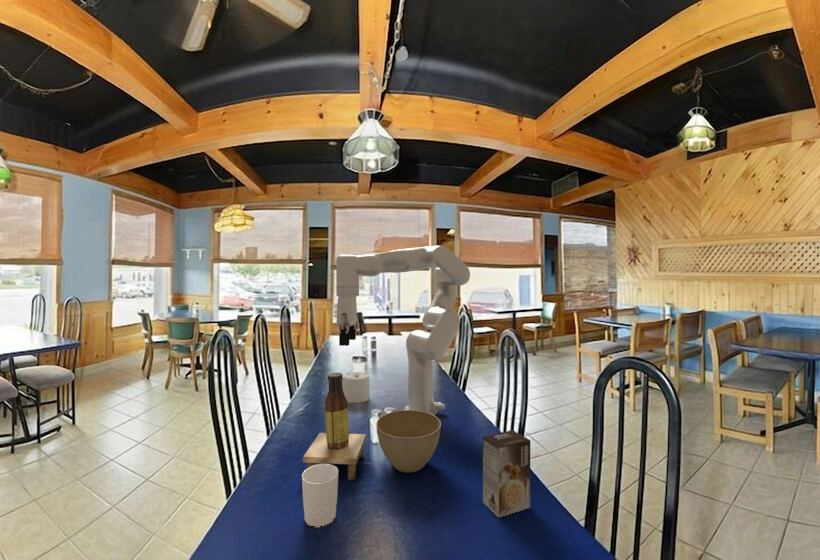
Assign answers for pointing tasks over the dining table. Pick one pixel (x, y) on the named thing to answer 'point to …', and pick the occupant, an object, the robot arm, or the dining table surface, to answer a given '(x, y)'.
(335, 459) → the footstool
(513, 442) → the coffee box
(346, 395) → the toilet tissue
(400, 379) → the dining table surface
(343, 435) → the sauce bottle
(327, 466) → the white cup
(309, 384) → the dining table surface
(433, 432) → the tan bowl
